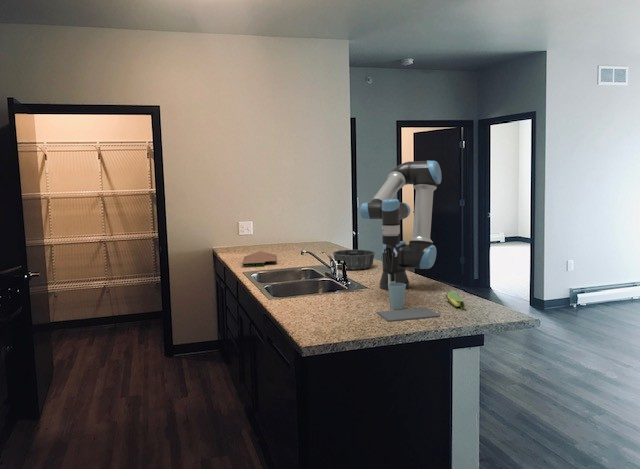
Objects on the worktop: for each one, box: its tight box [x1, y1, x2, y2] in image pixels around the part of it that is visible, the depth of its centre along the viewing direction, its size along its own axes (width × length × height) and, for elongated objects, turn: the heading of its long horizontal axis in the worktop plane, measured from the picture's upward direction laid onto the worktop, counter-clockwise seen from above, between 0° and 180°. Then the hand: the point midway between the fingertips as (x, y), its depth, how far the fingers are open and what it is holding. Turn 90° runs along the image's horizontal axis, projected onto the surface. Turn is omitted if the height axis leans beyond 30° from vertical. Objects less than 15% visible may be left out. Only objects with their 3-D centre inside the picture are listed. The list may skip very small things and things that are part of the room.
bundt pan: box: [332, 249, 376, 271], centre depth 334 cm, size 26×26×10 cm
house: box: [241, 251, 278, 267], centre depth 366 cm, size 23×33×8 cm
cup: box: [388, 283, 407, 310], centre depth 231 cm, size 8×8×10 cm
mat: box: [376, 307, 441, 323], centre depth 220 cm, size 14×22×1 cm, turn 103°
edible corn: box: [445, 290, 466, 311], centre depth 233 cm, size 5×20×5 cm
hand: (391, 288), depth 236 cm, fingers closed
